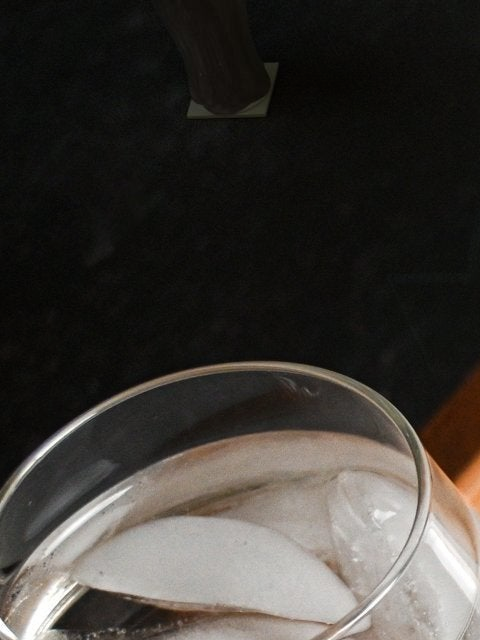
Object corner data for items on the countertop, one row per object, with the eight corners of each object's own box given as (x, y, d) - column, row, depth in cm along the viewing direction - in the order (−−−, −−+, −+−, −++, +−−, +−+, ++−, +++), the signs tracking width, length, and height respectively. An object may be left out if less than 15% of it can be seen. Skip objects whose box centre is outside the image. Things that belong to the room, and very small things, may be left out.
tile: (187, 119, 145) (186, 115, 145) (202, 67, 148) (201, 64, 148) (266, 117, 144) (265, 113, 144) (279, 65, 148) (278, 62, 147)
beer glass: (175, 76, 147) (107, -107, 134) (263, 49, 148) (203, -135, 136) (198, 130, 144) (130, -53, 131) (288, 102, 145) (229, -82, 132)
